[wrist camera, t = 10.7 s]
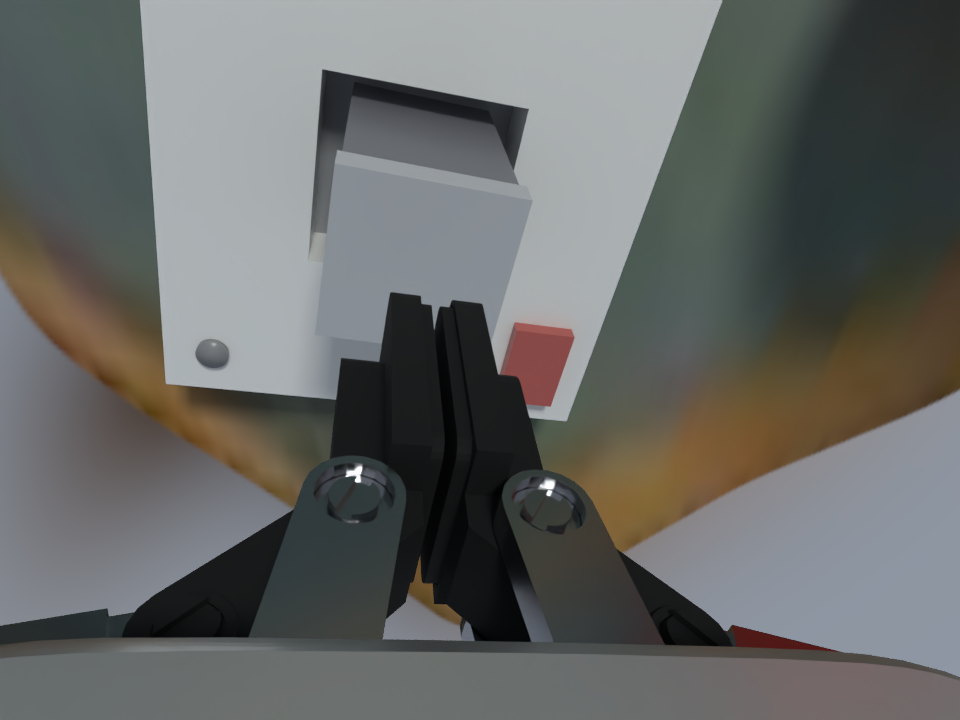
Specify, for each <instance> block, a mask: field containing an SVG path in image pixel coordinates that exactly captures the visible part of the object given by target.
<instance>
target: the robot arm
mask: <svg viewBox="0 0 960 720" xmlns="http://www.w3.org/2000/svg"><path fill="white" fill-rule="evenodd" d="M419 557H421V577H422V582H423V583H433V594H434V604H447V605H448V606H449V607H451V608H452V609H453V610H454V611H455V612H456V613H458V614H459V615H460V616H461V617H462V619H461V622H460V631H461V638H462V641H441V640H382V638H383V633H384V627H385V621H386V619H387V618H388V617H389V616H390V615H391V614H392V613H394V611H396V610H397V609H398V608H399V607H401V606H402V605H403V604H404V603H405V602H406V598H407V593H408V589H409V585H410V583H412V582H413V581H414V577H415V573H416V569H417V565H418V561H419ZM0 720H960V677H958V676H955V675H952V674H950V673H947V672H945V671H941V670H937V669H933V668H929V667H925V666H922V665H918V664H914V663H910V662H906V661H903V660H896V659H890V658H884V657H878V656H872V655H864V654H854V653H843V652H839V651H835V650H831V649H827V648H823V647H819V646H815V645H811V644H807V643H803V642H799V641H795V640H791V639H787V638H782V637H779V636H774V635H771V634H767V633H763V632H759V631H755V630H751V629H747V628H743V627H738V626H734V625H732V626H731V627H730V629H729V630H728V631H724V630H723V629H722V628H721V626H720V625H719V624H718V623H717V622H716V621H715V620H714V619H713V618H712V617H710V616H709V615H708V614H707V613H706V612H704V611H703V610H702V609H700V608H699V607H698V606H696V605H695V604H693V603H692V602H690V601H689V600H688V599H686V598H685V597H683V596H682V595H680V594H679V593H678V592H676V591H675V590H674V589H672V588H671V587H669V586H668V585H667V584H665V583H664V582H662V581H661V580H659V579H658V578H657V577H655V576H654V575H653V574H651V573H650V572H648V571H647V570H645V569H644V568H643V567H641V566H640V565H638V564H637V563H636V562H634V561H633V560H631V559H630V558H628V557H627V556H626V555H624V554H623V553H622V552H620V551H619V550H617V549H616V547H615V545H614V543H613V541H612V539H611V537H610V535H609V533H608V531H607V529H606V527H605V525H604V523H603V521H602V519H601V518H600V516H599V514H598V512H597V510H596V508H595V506H594V504H593V502H592V500H591V499H590V497H589V496H588V495H587V493H586V492H585V491H584V490H583V489H582V488H581V487H580V486H579V485H578V484H576V483H575V482H574V481H572V480H570V479H569V478H567V477H565V476H563V475H561V474H558V473H554V472H551V471H548V470H543V467H542V464H541V460H540V456H539V452H538V448H537V444H536V441H535V437H534V433H533V429H532V425H531V421H530V418H529V414H528V410H527V406H526V402H525V398H524V394H523V391H522V387H521V383H520V381H519V378H518V377H516V376H509V375H500V374H498V372H497V367H496V362H495V358H494V353H493V349H492V344H491V340H490V335H489V331H488V326H487V322H486V317H485V312H484V308H483V305H482V304H481V303H474V302H466V301H458V300H452V301H451V304H450V307H443V306H440V307H439V310H438V315H437V319H436V324H435V329H434V324H433V314H432V306H431V305H427V304H422V303H421V296H419V295H411V294H403V293H395V292H390V296H389V301H388V307H387V314H386V320H385V327H384V333H383V340H382V346H381V353H380V359H379V362H376V361H367V360H357V359H348V358H341V362H340V370H339V379H338V388H337V397H336V406H335V415H334V424H333V434H332V444H331V454H330V460H327V461H325V462H322V463H320V464H319V465H318V466H317V467H315V468H314V469H313V470H312V471H310V473H309V474H308V476H307V478H306V479H305V481H304V483H303V485H302V488H301V491H300V494H299V497H298V499H297V502H296V505H295V508H294V510H292V511H291V512H289V513H287V514H286V515H284V516H283V517H281V518H279V519H278V520H276V521H274V522H273V523H271V524H269V525H268V526H267V527H265V528H263V529H261V530H260V531H258V532H256V533H255V534H253V535H252V536H250V537H248V538H247V539H245V540H243V541H242V542H240V543H239V544H237V545H235V546H234V547H232V548H230V549H229V550H227V551H226V552H224V553H222V554H221V555H219V556H217V557H216V558H214V559H213V560H211V561H209V562H208V563H206V564H204V565H203V566H201V567H199V568H198V569H196V570H195V571H193V572H191V573H190V574H188V575H187V576H185V577H183V578H182V579H180V580H178V581H177V582H175V583H173V584H172V585H170V586H169V587H167V588H165V589H164V590H162V591H160V592H159V593H157V594H155V595H154V596H153V597H151V598H150V599H149V600H148V601H146V602H145V603H144V604H143V605H141V606H140V607H139V608H138V609H137V610H136V611H135V612H134V613H128V614H122V615H116V616H110V617H109V615H108V609H101V610H95V611H89V612H82V613H76V614H70V615H64V616H58V617H52V618H46V619H40V620H33V621H27V622H21V623H15V624H9V625H3V626H0Z"/></svg>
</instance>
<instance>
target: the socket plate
mask: <svg viewBox="0 0 960 720" xmlns="http://www.w3.org/2000/svg"><path fill="white" fill-rule="evenodd" d="M721 3H722V0H140V7H141V22H142V36H143V51H144V66H145V81H146V96H147V111H148V125H149V140H150V155H151V170H152V185H153V200H154V215H155V229H156V244H157V259H158V274H159V289H160V304H161V318H162V333H163V348H164V363H165V378H166V384H174V385H184V386H195V387H206V388H216V389H227V390H238V391H249V392H259V393H270V394H281V395H291V396H302V397H313V398H324V399H334V400H336V397H337V388H338V379H339V370H340V362H341V358H348V359H357V360H367V361H376V362H379V359H380V353H381V346H382V344H381V343H373V342H366V341H358V340H351V339H343V338H335V337H328V336H320V335H315V331H316V322H317V313H318V304H319V296H320V287H321V278H322V270H323V261H324V252H325V243H326V235H327V226H328V217H329V208H330V200H331V191H332V182H333V173H334V165H335V159H336V154H337V150H339V151H342V149H343V144H344V138H345V132H346V126H347V121H348V115H349V109H350V103H351V97H352V92H353V86H354V82H356V83H361V84H365V85H370V86H375V87H379V88H384V89H389V90H393V91H398V92H403V93H407V94H412V95H417V96H421V97H426V98H431V99H435V100H440V101H444V102H449V103H454V104H458V105H463V106H468V107H472V108H477V109H482V110H486V111H489V113H490V115H491V118H492V120H493V122H494V125H495V127H496V130H497V132H498V135H499V137H500V139H501V142H502V144H503V147H504V149H505V151H506V154H507V156H508V159H509V161H510V164H511V166H512V168H513V171H514V173H515V176H516V178H517V181H518V183H519V185H522V186H527V188H528V191H529V193H530V195H531V197H532V200H533V201H532V205H531V208H530V212H529V215H528V219H527V222H526V225H525V229H524V232H523V236H522V239H521V242H520V246H519V249H518V253H517V256H516V259H515V263H514V266H513V270H512V273H511V277H510V280H509V283H508V287H507V290H506V294H505V297H504V300H503V304H502V307H501V311H500V314H499V318H498V321H497V324H496V328H495V331H494V335H493V338H492V341H491V344H492V349H493V353H494V358H495V362H496V367H497V372H498V374H500V375H509V376H516V377H518V378H519V381H520V383H521V387H522V391H523V394H524V398H525V402H526V406H527V410H528V414H529V418H538V419H548V420H559V421H567V418H568V415H569V413H570V410H571V407H572V405H573V402H574V399H575V397H576V394H577V391H578V388H579V386H580V383H581V380H582V378H583V375H584V372H585V370H586V367H587V364H588V362H589V359H590V356H591V353H592V351H593V348H594V345H595V343H596V340H597V337H598V335H599V332H600V329H601V326H602V324H603V321H604V318H605V316H606V313H607V310H608V308H609V305H610V302H611V299H612V297H613V294H614V291H615V289H616V286H617V283H618V281H619V278H620V275H621V273H622V270H623V267H624V264H625V262H626V259H627V256H628V254H629V251H630V248H631V246H632V243H633V240H634V237H635V235H636V232H637V229H638V227H639V224H640V221H641V219H642V216H643V213H644V210H645V208H646V205H647V202H648V200H649V197H650V194H651V192H652V189H653V186H654V183H655V181H656V178H657V175H658V173H659V170H660V167H661V165H662V162H663V159H664V157H665V154H666V151H667V148H668V146H669V143H670V140H671V138H672V135H673V132H674V130H675V127H676V124H677V121H678V119H679V116H680V113H681V111H682V108H683V105H684V103H685V100H686V97H687V94H688V92H689V89H690V86H691V84H692V81H693V78H694V76H695V73H696V70H697V67H698V65H699V62H700V59H701V57H702V54H703V51H704V49H705V46H706V43H707V41H708V38H709V35H710V32H711V30H712V27H713V24H714V22H715V19H716V16H717V14H718V11H719V8H720V5H721Z"/></svg>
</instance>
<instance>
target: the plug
mask: <svg viewBox="0 0 960 720" xmlns="http://www.w3.org/2000/svg"><path fill="white" fill-rule="evenodd" d="M532 201H533V200H532V197H531V195H530V193H529V191H528V188H527V186H522V185H519V183H518V181H517V178H516V176H515V173H514V171H513V168H512V166H511V164H510V161H509V159H508V156H507V154H506V151H505V149H504V147H503V144H502V142H501V139H500V137H499V135H498V132H497V130H496V127H495V125H494V122H493V120H492V118H491V115H490V113H489V111H486V110H482V109H477V108H472V107H468V106H463V105H458V104H454V103H449V102H444V101H440V100H435V99H431V98H426V97H421V96H417V95H412V94H407V93H403V92H398V91H393V90H389V89H384V88H379V87H375V86H370V85H365V84H361V83H356V82H354V86H353V92H352V97H351V103H350V109H349V115H348V121H347V126H346V132H345V138H344V144H343V149H342V151H339V150H337V154H336V159H335V165H334V173H333V182H332V191H331V200H330V208H329V217H328V226H327V235H326V243H325V252H324V261H323V270H322V278H321V287H320V296H319V304H318V313H317V322H316V331H315V335H320V336H328V337H335V338H343V339H351V340H358V341H366V342H373V343H381V344H382V340H383V333H384V327H385V320H386V314H387V307H388V301H389V296H390V292H395V293H403V294H411V295H419V296H421V303H422V304H427V305H431V306H432V314H433V324H434V329H435V324H436V319H437V315H438V310H439V307H440V306H443V307H450V304H451V301H452V300H458V301H466V302H474V303H481V304H482V305H483V308H484V312H485V317H486V322H487V326H488V331H489V335H490V340H491V341H492V338H493V335H494V331H495V328H496V324H497V321H498V318H499V314H500V311H501V307H502V304H503V300H504V297H505V294H506V290H507V287H508V283H509V280H510V277H511V273H512V270H513V266H514V263H515V259H516V256H517V253H518V249H519V246H520V242H521V239H522V236H523V232H524V229H525V225H526V222H527V219H528V215H529V212H530V208H531V205H532Z"/></svg>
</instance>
